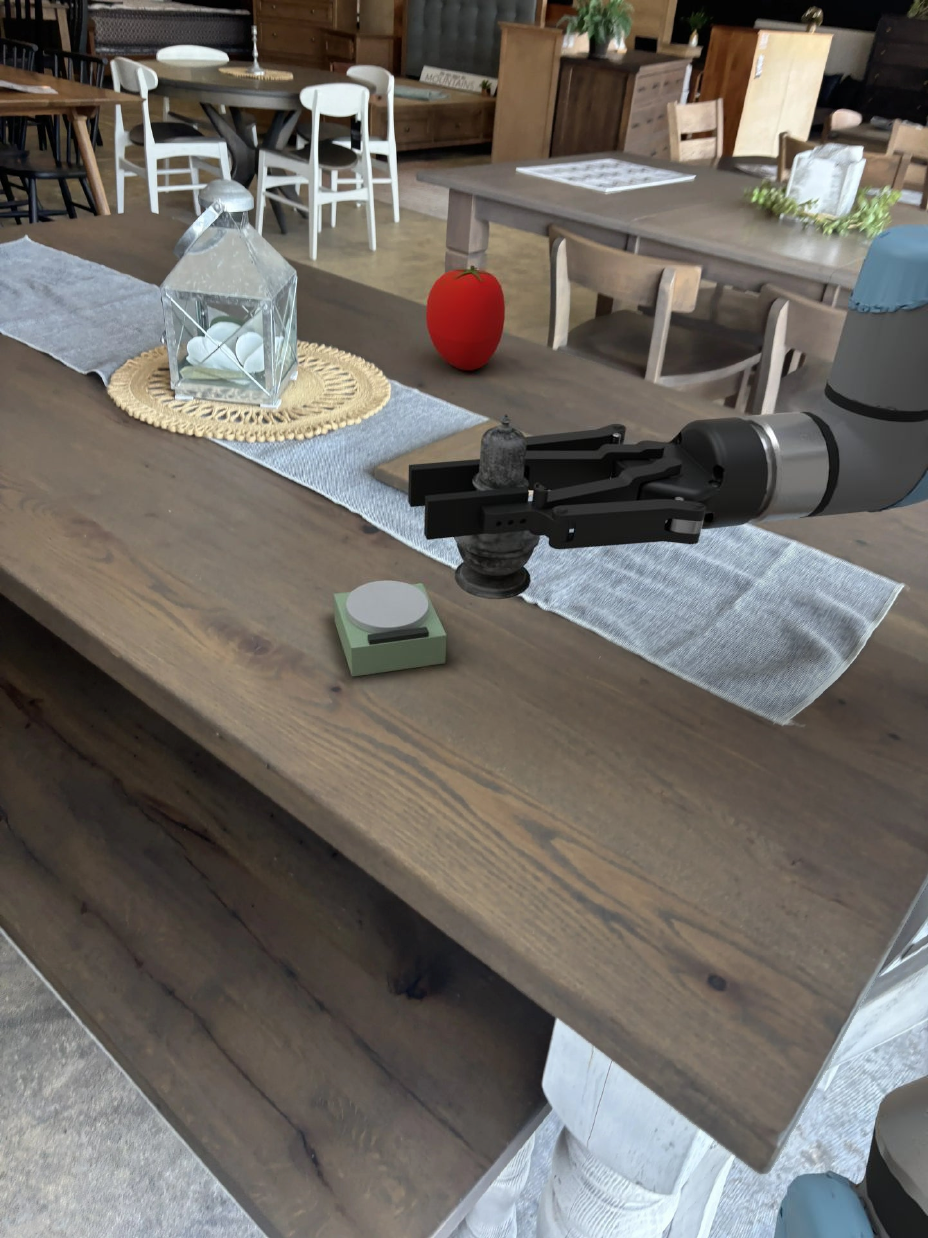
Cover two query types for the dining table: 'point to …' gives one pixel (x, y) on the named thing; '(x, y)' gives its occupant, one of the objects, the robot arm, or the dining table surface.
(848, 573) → the dining table surface
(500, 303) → the tomato
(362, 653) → the scale
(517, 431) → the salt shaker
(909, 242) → the robot arm
